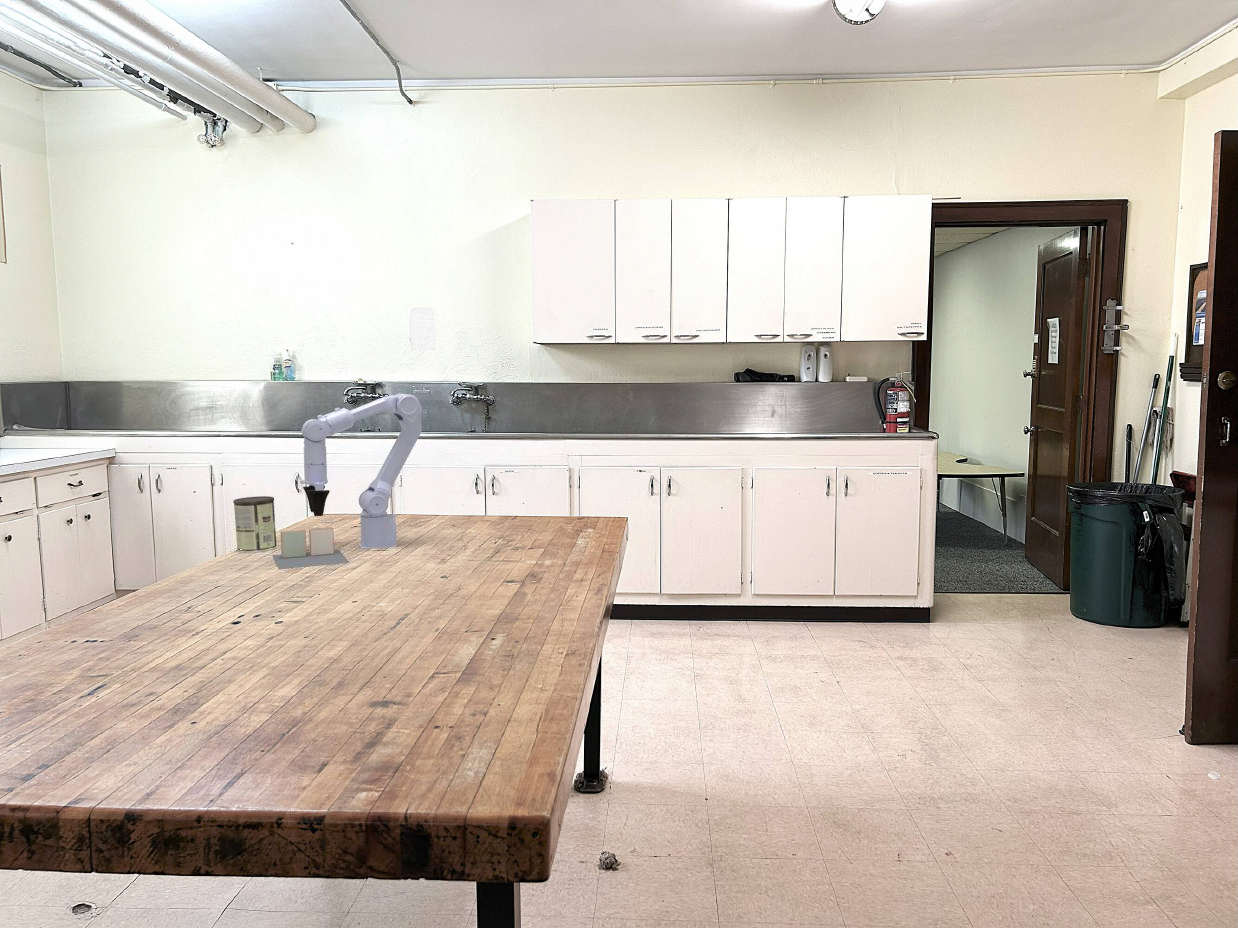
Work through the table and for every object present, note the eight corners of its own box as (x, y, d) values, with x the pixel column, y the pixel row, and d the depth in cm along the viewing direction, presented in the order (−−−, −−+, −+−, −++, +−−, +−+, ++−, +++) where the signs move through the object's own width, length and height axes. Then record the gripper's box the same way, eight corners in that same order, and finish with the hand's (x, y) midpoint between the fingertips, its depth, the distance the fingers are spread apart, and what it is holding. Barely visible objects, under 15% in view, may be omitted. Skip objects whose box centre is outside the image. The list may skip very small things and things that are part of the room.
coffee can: (248, 545, 248) (245, 496, 246) (283, 545, 247) (280, 496, 245) (229, 553, 238) (225, 501, 236) (265, 553, 237) (262, 501, 235)
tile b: (281, 556, 231) (280, 530, 231) (305, 554, 234) (304, 528, 233) (282, 558, 229) (281, 532, 229) (306, 556, 232) (305, 530, 231)
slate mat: (338, 550, 241) (338, 549, 241) (349, 564, 225) (349, 562, 225) (272, 556, 234) (272, 555, 234) (278, 570, 218) (278, 569, 218)
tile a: (309, 554, 234) (308, 528, 234) (333, 552, 237) (332, 526, 236) (310, 556, 233) (309, 530, 232) (334, 554, 235) (333, 528, 234)
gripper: (296, 461, 242) (298, 510, 244) (302, 467, 229) (304, 518, 231) (323, 461, 245) (324, 509, 247) (331, 466, 232) (332, 517, 234)
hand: (316, 513), depth 239 cm, fingers open, 7 cm apart
